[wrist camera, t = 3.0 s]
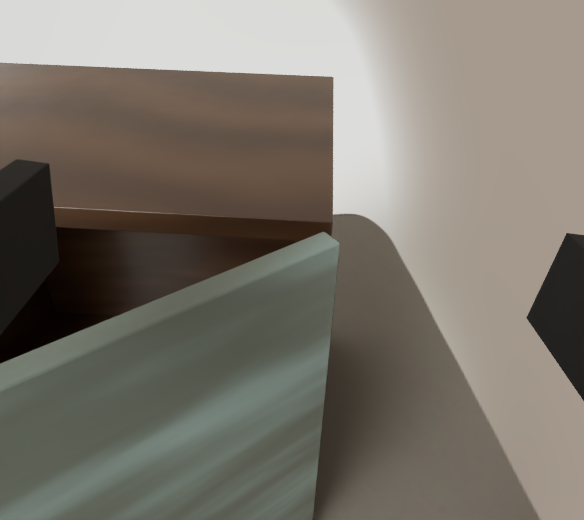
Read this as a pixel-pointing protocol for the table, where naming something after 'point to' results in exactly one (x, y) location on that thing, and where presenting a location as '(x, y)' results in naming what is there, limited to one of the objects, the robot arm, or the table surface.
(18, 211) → the robot arm
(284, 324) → the cupboard door
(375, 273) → the table surface
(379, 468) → the table surface
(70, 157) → the cupboard
